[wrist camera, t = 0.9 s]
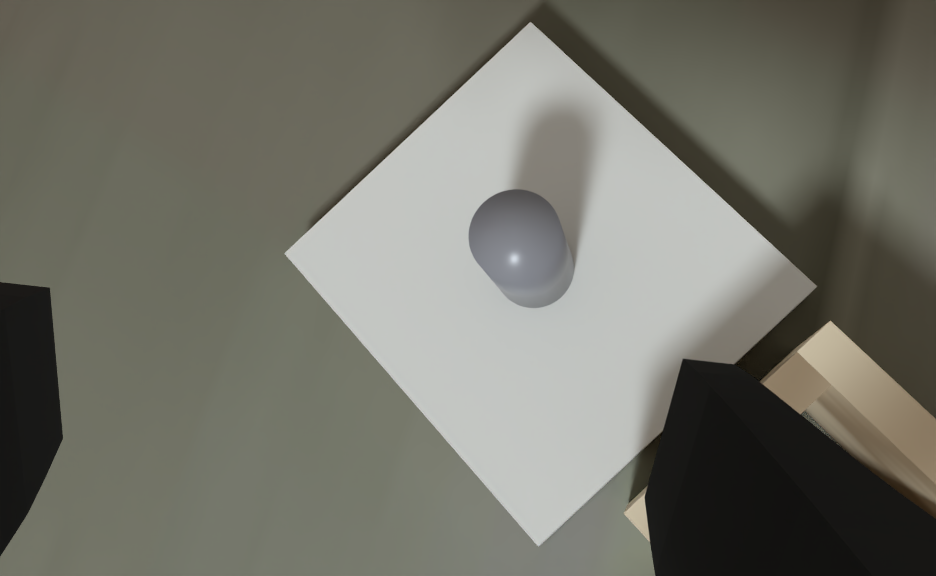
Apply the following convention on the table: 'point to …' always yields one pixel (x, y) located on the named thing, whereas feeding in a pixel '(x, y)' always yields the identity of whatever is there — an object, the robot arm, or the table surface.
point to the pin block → (543, 278)
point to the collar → (852, 415)
